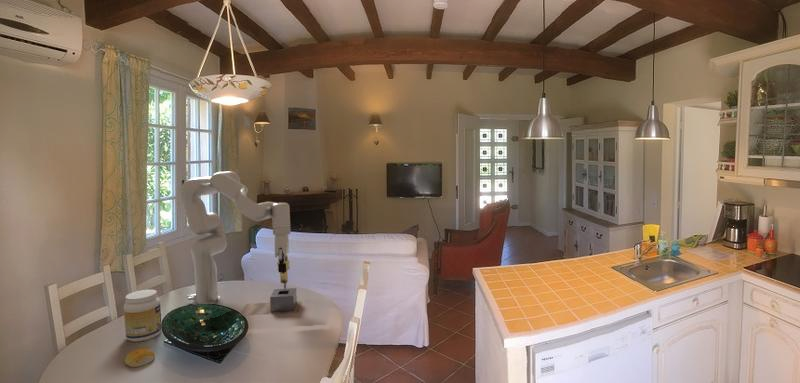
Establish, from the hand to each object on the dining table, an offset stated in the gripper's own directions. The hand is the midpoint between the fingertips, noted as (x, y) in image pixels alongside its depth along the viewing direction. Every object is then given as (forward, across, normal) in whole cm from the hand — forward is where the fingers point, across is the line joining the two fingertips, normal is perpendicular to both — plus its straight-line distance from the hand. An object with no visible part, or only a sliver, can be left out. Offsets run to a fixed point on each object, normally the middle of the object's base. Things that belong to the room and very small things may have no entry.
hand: (283, 269), depth 178 cm
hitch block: (+18, 0, -1) cm, 18 cm away
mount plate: (+19, 0, -6) cm, 20 cm away
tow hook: (+19, -15, -1) cm, 24 cm away
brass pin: (+6, 0, 0) cm, 6 cm away
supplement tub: (+19, +17, -52) cm, 58 cm away
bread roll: (+19, +37, -43) cm, 60 cm away
